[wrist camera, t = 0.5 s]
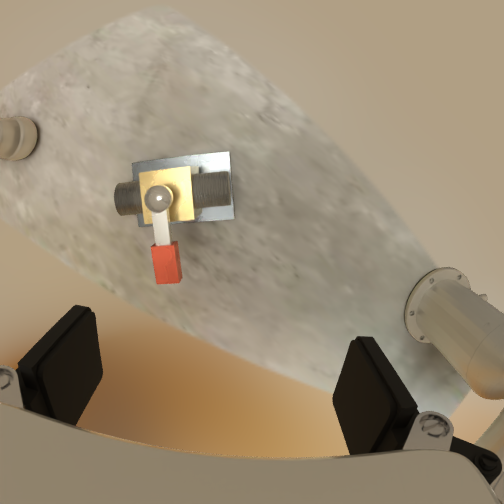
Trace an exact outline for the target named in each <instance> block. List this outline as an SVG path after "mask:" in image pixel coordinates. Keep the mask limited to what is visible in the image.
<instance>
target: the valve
mask: <svg viewBox="0 0 504 504" xmlns="http://www.w3.org/2000/svg"><path fill="white" fill-rule="evenodd" d="M132 172H133V181H132V182H125V183H119V184H118V185H117V186H116V188H115V194H114V200H115V206H116V209H117V212H118V213H119V214H120V215H121V216H125V215H134V214H137V218H138V226H139V227H145V226H153V220H152V212H151V211H150V210H149V209H148V208H147V207H146V205H145V201H144V197H145V194H146V192H147V190H148V189H149V188H151V187H153V186H157V185H165V186H167V187H168V188H169V189H170V190H171V191H172V193H173V202H172V205H171V206H170V207H169V215H170V224H179V223H190V222H203V221H216V220H229V219H234V218H235V215H234V202H233V189H232V176H231V162H230V152H219V153H208V154H198V155H189V156H181V157H173V158H165V159H157V160H150V161H143V162H137V163H132Z"/></svg>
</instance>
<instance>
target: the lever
mask: <svg viewBox="0 0 504 504" xmlns="http://www.w3.org/2000/svg"><path fill="white" fill-rule="evenodd" d="M144 201H145V205H146V207H147V208H148V209H149V210H150V211H151V212H152V220H153V228H154V236H155V244H154V245H153V246H151V251H152V258H153V264H154V270H155V276H156V282H157V284H172V283H180V281H181V279H182V271H181V264H180V256H179V249H178V241H174V242H173V240H172V232H171V224H170V215H169V207H170V206H171V205H172V202H173V193H172V191H171V190H170V189H169V188H168V187H167V186H165V185H157V186H153V187H151V188H149V189H148V190H147V192H146V194H145V197H144Z"/></svg>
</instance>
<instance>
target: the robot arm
mask: <svg viewBox="0 0 504 504" xmlns="http://www.w3.org/2000/svg"><path fill="white" fill-rule="evenodd" d="M405 323H406V327H407V329H408V332H409V333H410V334H411V335H412V337H413V338H415V339H416V340H417V341H419V342H422V343H432V344H433V345H434V346H435V347H436V348H437V349H438V350H439V351H440V353H441V354H442V355H443V356H444V357H445V358H446V359H447V361H448V362H449V363H450V364H451V365H452V366H453V367H454V369H455V370H456V371H457V372H458V373H459V374H460V376H461V377H462V378H463V379H464V380H465V382H466V383H467V384H468V385H469V387H470V388H471V389H472V390H473V391H474V392H475V393H476V394H477V395H479V396H480V397H482V398H485V399H491V400H499V399H504V314H503V313H502V312H500V311H499V310H498V309H496V308H495V307H493V306H492V305H491V304H489V303H488V302H487V295H486V294H481V295H477V294H475V293H474V292H473V291H471V288H470V284H469V281H468V279H467V277H466V276H465V275H464V274H463V273H461V272H460V271H458V270H457V269H454V268H450V267H444V268H439V269H436V270H434V271H432V272H430V273H429V274H427V275H426V276H425V277H424V278H423V279H422V280H421V281H420V282H419V283H418V284H417V285H416V287H415V288H414V290H413V291H412V293H411V295H410V297H409V299H408V302H407V305H406V310H405ZM18 366H19V367H18V368H17V369H16V370H14V369H13V368H11V367H9V366H4V365H0V504H504V408H503V410H502V411H501V412H500V415H499V416H498V417H497V418H496V419H495V421H494V422H493V423H492V424H491V426H490V427H489V428H488V429H487V430H486V431H485V432H484V434H483V435H482V436H481V437H480V438H479V439H478V440H477V441H476V443H475V444H471V443H469V442H466V441H464V440H461V439H459V438H456V437H454V436H453V431H454V428H453V425H452V423H451V422H450V420H449V419H448V418H447V417H445V416H444V415H442V414H440V413H437V412H433V411H426V412H422V413H419V412H418V410H417V407H418V406H417V404H416V402H415V401H414V399H413V398H412V396H411V394H410V393H409V391H408V390H407V388H406V387H405V385H404V384H403V382H402V380H401V379H400V377H399V376H398V374H397V373H396V371H395V370H394V368H393V367H392V365H391V364H390V362H389V361H388V359H387V357H386V356H385V354H384V353H383V351H382V350H381V348H380V347H379V346H378V344H377V343H376V341H375V340H374V338H373V337H365V336H358V337H356V339H355V340H352V341H351V343H350V346H349V349H348V352H347V355H346V358H345V361H344V365H343V368H342V371H341V374H340V377H339V379H338V382H337V385H336V388H335V391H334V394H333V405H334V408H335V411H336V414H337V417H338V420H339V423H340V426H341V429H342V432H343V435H344V438H345V441H346V444H347V447H348V450H349V453H350V455H345V456H330V457H308V458H307V457H306V458H269V457H268V458H267V457H245V456H244V457H243V456H230V455H219V454H208V453H200V452H192V451H184V450H177V449H172V448H165V447H160V446H154V445H149V444H144V443H139V442H135V441H129V440H125V439H121V438H117V437H112V436H109V435H105V434H101V433H98V432H94V431H91V430H87V429H84V428H81V427H77V426H76V424H77V422H78V420H79V418H80V416H81V415H82V413H83V411H84V409H85V407H86V406H87V404H88V402H89V400H90V398H91V396H92V395H93V393H94V391H95V390H96V388H97V386H98V384H99V383H100V381H101V378H102V375H103V369H102V363H101V356H100V349H99V342H98V334H97V326H96V317H95V313H94V312H92V311H91V309H90V308H89V307H85V306H80V305H75V306H73V307H72V308H71V309H70V310H69V311H68V312H67V313H66V314H65V315H64V316H63V317H62V318H61V319H60V320H59V321H58V322H57V323H56V324H55V325H54V326H53V327H52V328H51V329H50V330H49V331H48V332H47V333H46V334H45V335H44V336H43V337H42V338H41V339H40V340H39V341H38V342H37V343H36V344H35V345H34V346H33V348H31V350H30V351H29V352H28V353H27V354H26V355H25V356H24V357H23V358H22V359H21V360H20V361H19V362H18Z"/></svg>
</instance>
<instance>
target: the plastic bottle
mask: <svg viewBox="0 0 504 504" xmlns="http://www.w3.org/2000/svg"><path fill="white" fill-rule="evenodd" d="M36 142H37V129H36V126H35V124H34V123H33V121H31V120H30V119H28V118H25V117H22V116H18V117H11V118H0V158H1V159H5V160H11V161H17V160H20V159H23V158H25V157H27V156H28V155H29V154H30V153H31V152H32V150H33V149H34V147H35V145H36Z"/></svg>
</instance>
